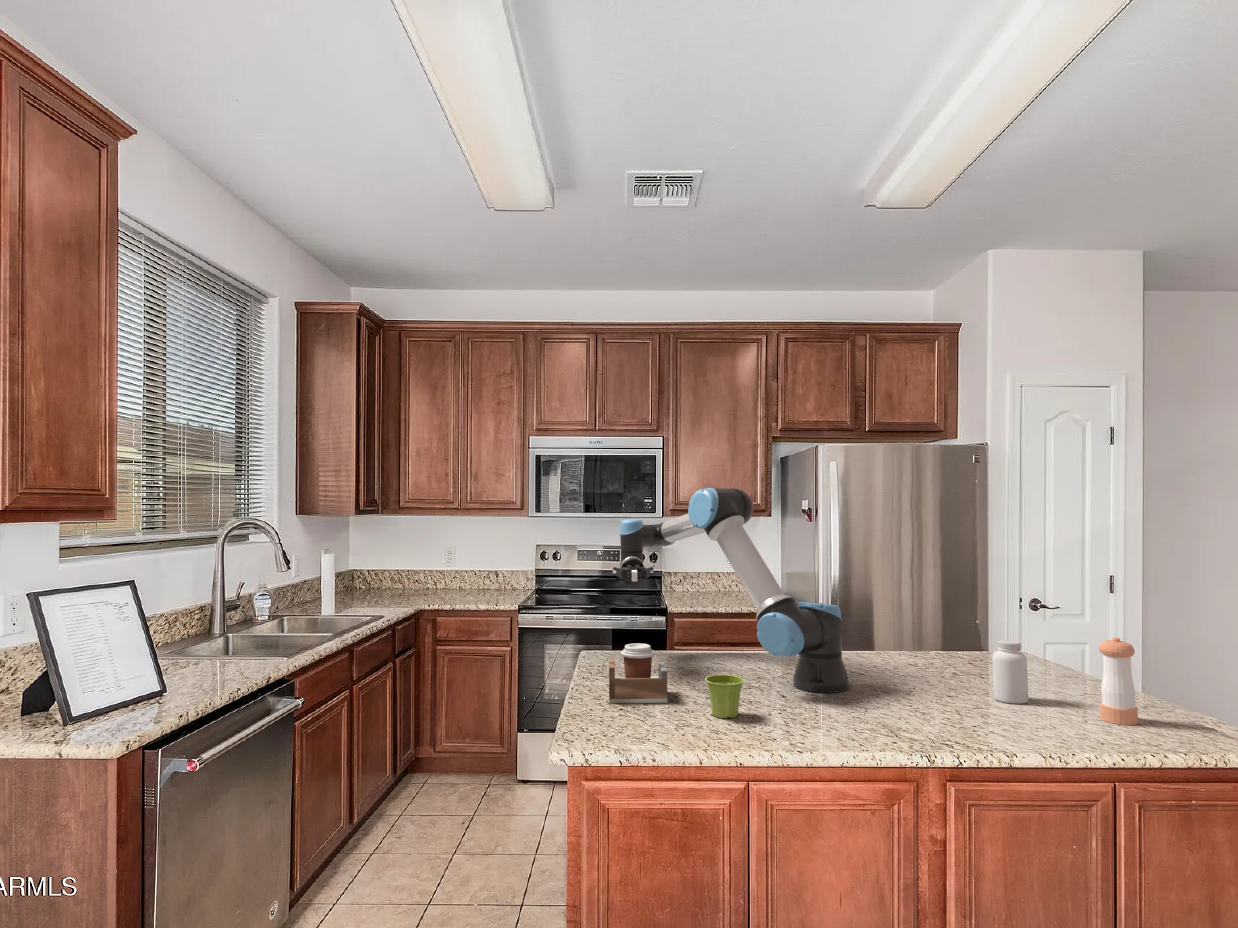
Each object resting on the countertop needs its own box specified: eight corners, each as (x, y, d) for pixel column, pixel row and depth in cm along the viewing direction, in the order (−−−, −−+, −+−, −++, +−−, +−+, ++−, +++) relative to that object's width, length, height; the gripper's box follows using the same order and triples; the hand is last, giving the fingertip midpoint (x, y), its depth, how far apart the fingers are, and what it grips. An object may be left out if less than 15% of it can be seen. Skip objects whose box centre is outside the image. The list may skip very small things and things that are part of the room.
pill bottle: (1027, 698, 195) (1025, 639, 196) (1029, 706, 188) (1027, 645, 189) (993, 695, 199) (991, 637, 199) (994, 702, 191) (992, 643, 192)
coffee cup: (657, 687, 206) (656, 642, 206) (652, 695, 197) (651, 649, 197) (624, 685, 207) (624, 641, 208) (618, 694, 198) (617, 648, 199)
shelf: (609, 680, 218) (609, 648, 218) (661, 679, 218) (660, 648, 219) (609, 703, 194) (609, 667, 194) (667, 702, 194) (667, 667, 194)
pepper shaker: (1139, 726, 170) (1135, 641, 171) (1100, 722, 174) (1097, 638, 175) (1137, 718, 177) (1134, 636, 177) (1100, 714, 180) (1097, 633, 181)
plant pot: (750, 713, 184) (749, 677, 184) (735, 723, 176) (735, 685, 176) (715, 707, 189) (714, 672, 189) (699, 717, 180) (698, 680, 181)
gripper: (652, 580, 241) (657, 589, 218) (612, 581, 241) (612, 589, 218) (652, 557, 242) (657, 563, 218) (612, 557, 242) (612, 563, 218)
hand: (634, 576), depth 218 cm, fingers closed
